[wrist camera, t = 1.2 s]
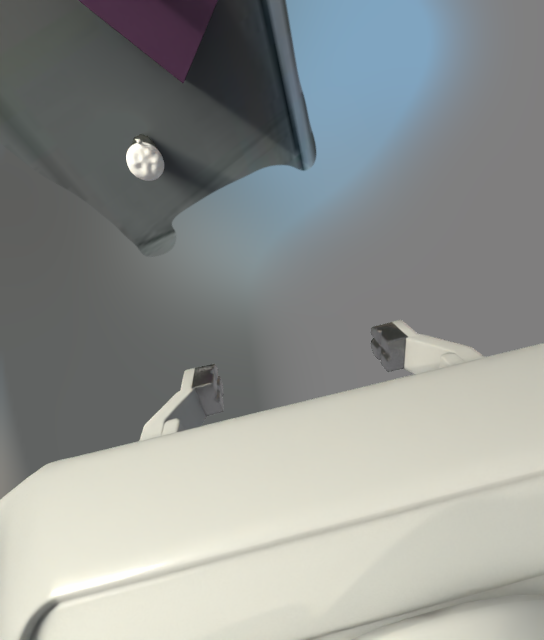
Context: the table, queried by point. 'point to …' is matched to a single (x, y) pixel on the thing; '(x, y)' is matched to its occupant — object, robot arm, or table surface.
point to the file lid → (159, 27)
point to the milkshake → (144, 158)
